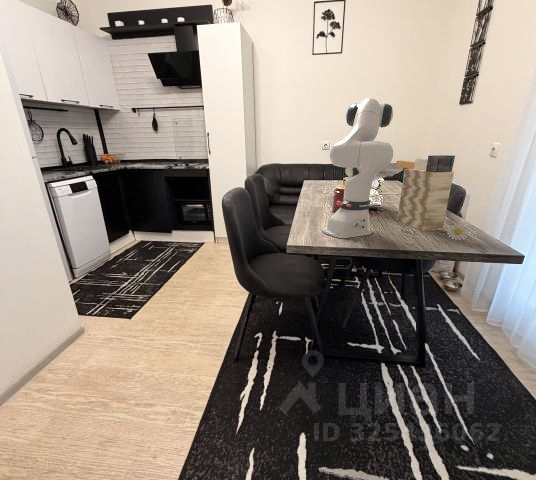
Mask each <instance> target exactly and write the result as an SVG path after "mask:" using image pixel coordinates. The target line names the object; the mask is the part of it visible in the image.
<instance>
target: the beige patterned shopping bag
mask: <svg viewBox="0 0 536 480" xmlns="http://www.w3.org/2000/svg"><path fill="white" fill-rule="evenodd" d="M427 158H428V161H427V166H426V171H422V170H415V169H411V168H404V169H403V178H402V185H401V191H400V198H399V204H398V212H397V217H396V221H397V222H399V223H402V224H405V225H407V226H410V227H412V228H414V229H417V230H419V231H422V232H429V231H431V232H432V231H436V230H439V231H443V230H444V229H443V228H444V223H445V218H446V215H447V214H446V213H447V208H448V203H449V200H450V193H451V190H452V189H451V188H452V183H453V180H454V174H455V171H453V168H454V163H455V158H456V155H451V154H441V155H440V154H439V155H437V154H436V155H428V156H427Z"/></svg>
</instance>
